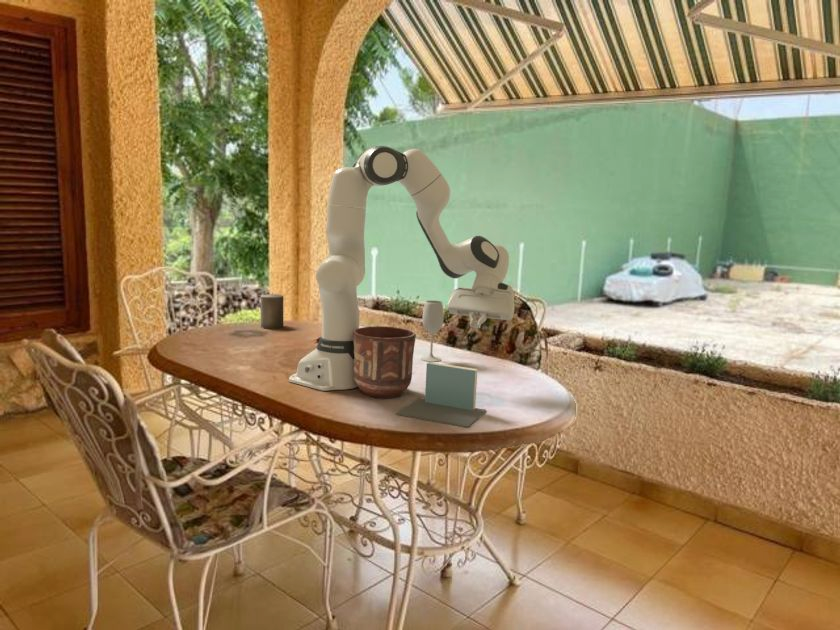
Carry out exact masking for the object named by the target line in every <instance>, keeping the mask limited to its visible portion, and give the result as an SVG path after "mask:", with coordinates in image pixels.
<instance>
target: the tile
mask: <svg viewBox="0 0 840 630" xmlns="http://www.w3.org/2000/svg"><path fill="white" fill-rule="evenodd" d="M425 369H426V371H425V392H424V393H425V394H424V399H425V402H427V403H433V404H439V405H445V406H450V407H456V408H462V409H467V410H474V409H475V408H476V399H477V384H478V372H479V371H478V368H472V367H466V366H458V365H452V364H451V365H450V364H445V363H438V362H427V363H426V368H425Z"/></svg>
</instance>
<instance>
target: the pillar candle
mask: <svg viewBox="0 0 840 630" xmlns="http://www.w3.org/2000/svg"><path fill="white" fill-rule="evenodd" d="M284 326H285V325H284V295H283V294H276V293H274V292H271V294H270V293H268V294H267V293H266V294H261V295H260V328H262V327H263V328H262V329H269V330H270V329H271V330H274V329H282V328H283V327H284Z"/></svg>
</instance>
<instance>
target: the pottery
mask: <svg viewBox="0 0 840 630" xmlns="http://www.w3.org/2000/svg"><path fill="white" fill-rule="evenodd" d="M416 338H417V337H416V332H414V331H412V330H410V329H407V328H403V327H396V326H395V327H394V326H380V325H379V326H376V325H375V326H365V327H359V329H356V330H354V332H353V341H354V357H355V360H354V379H355V382H356V384H357V386H358V387H357V388H359V390H360V391H361V392H362V393H363V394H365V395H366V396H369V397H373V398H379V399H381V398H382V399H388V398H396V397H400V396H402V395H403V393H404V392H406V391H407V390H408V388H409V387H410V384H411V382H412V378H413V377H412V376H413V363H414V362H413V361H414V351H415V344H416Z"/></svg>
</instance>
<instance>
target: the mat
mask: <svg viewBox="0 0 840 630" xmlns="http://www.w3.org/2000/svg"><path fill="white" fill-rule="evenodd" d="M486 412H487V409H483V408H478V407H475V409H474V410H467V409H462V408H456V407H450V406H445V405H439V404H433V403H427V402H425V398H421V397H418V398H416V399H415V400H413V401H412V402H410V403H408V404H407V405H406V406H405V407H402V408H401V409H399V410H398V411H397V412H395V415H397V416H403V417H408V418H414V419H419V420H424V421H430V422H434V423H439V424H445V425H451V426H456V427H460V428H461V427H463V428H467V429H469V428H470V427H471V426H472V425H473V424H475V422H476V421H477V420H478V419H480V417H482V416H483V415H484V414H486Z"/></svg>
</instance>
